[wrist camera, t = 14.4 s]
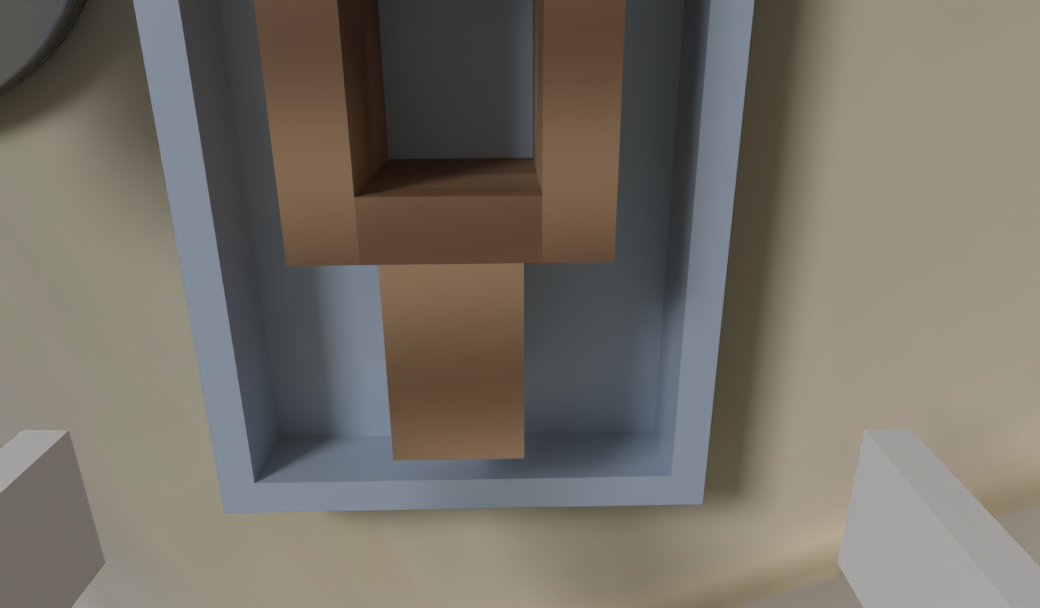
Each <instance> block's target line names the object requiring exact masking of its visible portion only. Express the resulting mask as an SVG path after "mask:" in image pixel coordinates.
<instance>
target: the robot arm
mask: <svg viewBox="0 0 1040 608" xmlns="http://www.w3.org/2000/svg"><path fill="white" fill-rule="evenodd" d="M104 564H105V560H104V556H103V552H102V549H101V545H100V542H99V538H98V534H97V531H96V527H95V523H94V520H93V516H92V513H91V509H90V505H89V502H88V498H87V494H86V491H85V487H84V484H83V480H82V476H81V473H80V469H79V465H78V462H77V458H76V455H75V451H74V447H73V444H72V440H71V436H70V433H69V430H22V431H21V432H20V433H19V434H18V435H16V436H15V437H14V438H13V439H12V440H10V441H9V442H8V443H7V444H6V445H4V446H3V447H2V448H1V449H0V608H71V607H72V606H73V604H74V603H75V602H76V601H77V599H78V598H79V597H80V595H81V594H82V593H83V591H84V590H85V589H86V587H87V586H88V585H89V583H90V582H91V581H92V580H93V578H94V577H95V576H96V574H97V573H98V572H99V570H100V569H101V568H102V566H103V565H104ZM838 565H839V566H840V568H841V570H842V571H843V573H844V575H845V577H846V578H847V580H848V582H849V584H850V585H851V587H852V589H853V591H854V592H855V594H856V596H857V598H858V599H859V601H860V602H861V604H862V606H863V608H1040V566H1039V565H1038V564H1037V563H1036V562H1035V561H1034V560H1033V559H1032V558H1031V557H1030V556H1029V555H1028V554H1027V553H1026V551H1025V550H1024V549H1023V548H1022V547H1021V546H1020V545H1019V544H1018V543H1017V542H1016V541H1015V540H1014V539H1013V538H1012V537H1011V535H1010V534H1009V533H1008V532H1007V531H1006V530H1005V529H1004V528H1003V527H1002V526H1001V525H1000V524H999V523H998V522H997V521H996V519H995V518H994V517H993V516H992V515H991V514H990V513H989V512H988V511H987V510H986V509H985V508H984V507H983V506H982V505H981V503H980V502H979V501H978V500H977V499H976V498H975V497H974V496H973V495H972V494H971V493H970V492H969V491H968V490H967V489H966V487H965V486H964V485H963V484H962V483H961V482H960V481H959V480H958V479H957V478H956V477H955V476H954V475H953V474H952V473H951V471H950V470H949V469H948V468H947V467H946V466H945V465H944V464H943V463H942V462H941V461H940V460H939V459H938V458H937V457H936V455H935V454H934V453H933V452H932V451H931V450H930V449H929V448H928V447H927V446H926V445H925V444H924V443H923V442H922V441H921V439H920V438H919V437H918V436H917V435H916V434H915V433H914V432H913V431H912V430H865V431H864V435H863V440H862V445H861V450H860V455H859V460H858V465H857V470H856V475H855V480H854V484H853V489H852V494H851V499H850V504H849V509H848V514H847V519H846V524H845V528H844V533H843V538H842V543H841V548H840V553H839V558H838Z"/></svg>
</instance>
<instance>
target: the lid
mask: <svg viewBox="0 0 1040 608" xmlns="http://www.w3.org/2000/svg"><path fill="white" fill-rule="evenodd" d="M85 1H86V0H0V94H1V93H3V92H4V91H6V90H8V89H10V88H11V87H13V86H15V85H16V84H18V83H20V82H22V81H23V80H24V79H25V78H27V77H28V76H29V75H30V74H31V73H33V72H34V71H35V70H36V69H37V68H39V67H40V66H41V65H42V64H43V63H45V61H46V60H47V59H48V58H49V57H50V56H51V55H52V53H53V52H54V51H55V50H56V49H57V48H58V46H59V45H60V44H61V43H62V42H63V41H64V39H65V38H66V36H67V34H68V33H69V31H70V30H71V28H72V26H73V25H74V23H75V21H76V20H77V18H78V17H79V15H80V13H81V11H82V8H83V6H84V3H85Z"/></svg>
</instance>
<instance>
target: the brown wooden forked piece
mask: <svg viewBox="0 0 1040 608" xmlns="http://www.w3.org/2000/svg"><path fill="white" fill-rule="evenodd" d="M253 1H254V9H255V17H256V25H257V33H258V41H259V49H260V57H261V65H262V73H263V81H264V89H265V97H266V105H267V113H268V122H269V130H270V138H271V146H272V154H273V162H274V170H275V178H276V186H277V194H278V202H279V210H280V218H281V226H282V234H283V242H284V250H285V258H286V266H328V265H378V269H379V282H380V295H381V308H382V321H383V334H384V347H385V359H386V372H387V385H388V398H389V411H390V424H391V437H392V450H393V461H400V460H458V459H515V458H524V263H593V262H614V260H615V237H616V214H617V192H618V169H619V147H620V124H621V101H622V79H623V56H624V34H625V11H626V0H533V158H455V159H389V158H388V144H387V129H386V114H385V100H384V85H383V70H382V56H381V41H380V26H379V11H378V0H253Z"/></svg>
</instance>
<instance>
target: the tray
mask: <svg viewBox="0 0 1040 608" xmlns="http://www.w3.org/2000/svg"><path fill="white" fill-rule="evenodd" d="M133 3H134V8H135V14H136V20H137V25H138V31H139V36H140V42H141V48H142V53H143V59H144V65H145V70H146V76H147V81H148V87H149V93H150V98H151V104H152V109H153V115H154V121H155V126H156V132H157V137H158V143H159V149H160V154H161V160H162V165H163V171H164V177H165V182H166V188H167V194H168V199H169V205H170V210H171V216H172V222H173V227H174V233H175V238H176V244H177V250H178V255H179V261H180V266H181V272H182V278H183V283H184V289H185V295H186V300H187V306H188V311H189V317H190V323H191V328H192V334H193V339H194V345H195V351H196V356H197V362H198V367H199V373H200V379H201V384H202V390H203V396H204V401H205V407H206V412H207V418H208V424H209V429H210V435H211V440H212V446H213V452H214V457H215V463H216V468H217V474H218V480H219V485H220V491H221V497H222V502H223V508H224V513H257V512H311V511H366V510H420V509H475V508H529V507H584V506H638V505H693V504H703V496H704V486H705V476H706V466H707V457H708V447H709V437H710V428H711V418H712V408H713V398H714V389H715V379H716V369H717V360H718V350H719V340H720V330H721V321H722V311H723V301H724V291H725V282H726V272H727V262H728V253H729V243H730V233H731V223H732V214H733V204H734V194H735V185H736V175H737V165H738V155H739V146H740V136H741V126H742V117H743V107H744V97H745V87H746V78H747V68H748V58H749V49H750V39H751V29H752V19H753V10H754V0H626V11H625V34H624V56H623V79H622V101H621V124H620V147H619V169H618V192H617V214H616V237H615V260H614V262H593V263H524V458H515V459H458V460H400V461H393V450H392V437H391V424H390V411H389V398H388V385H387V372H386V359H385V347H384V334H383V321H382V308H381V295H380V282H379V269H378V265H328V266H286V258H285V250H284V242H283V234H282V226H281V218H280V210H279V202H278V194H277V186H276V178H275V170H274V162H273V154H272V146H271V138H270V130H269V122H268V113H267V105H266V97H265V89H264V81H263V73H262V65H261V57H260V49H259V41H258V33H257V25H256V17H255V9H254V1H253V0H133ZM378 11H379V26H380V41H381V56H382V70H383V85H384V100H385V114H386V129H387V144H388V158H389V159H455V158H533V0H378Z"/></svg>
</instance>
